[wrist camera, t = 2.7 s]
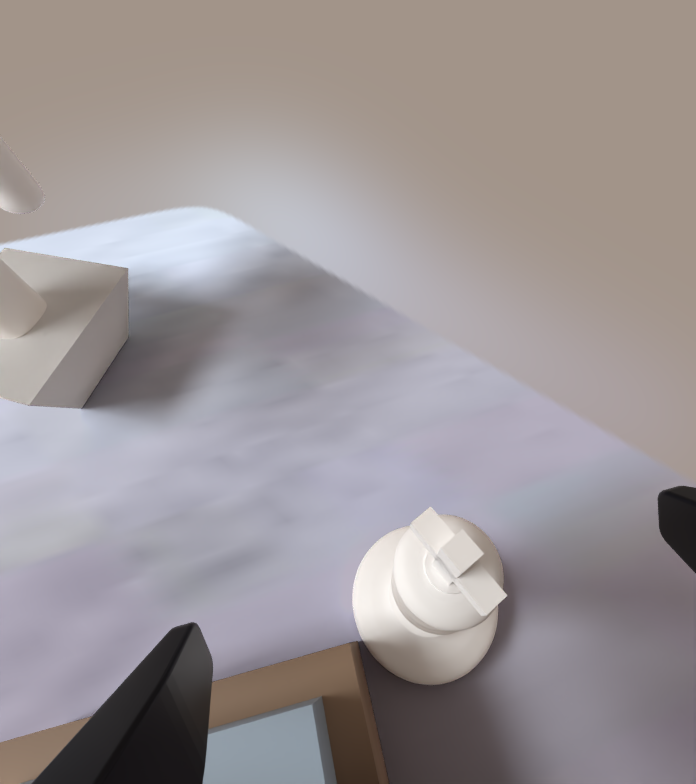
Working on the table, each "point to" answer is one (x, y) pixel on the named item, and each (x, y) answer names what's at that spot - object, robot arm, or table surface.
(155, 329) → the table surface
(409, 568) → the chess piece
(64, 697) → the table surface
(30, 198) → the figurine
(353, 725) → the stepped pedestal base
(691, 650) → the table surface
